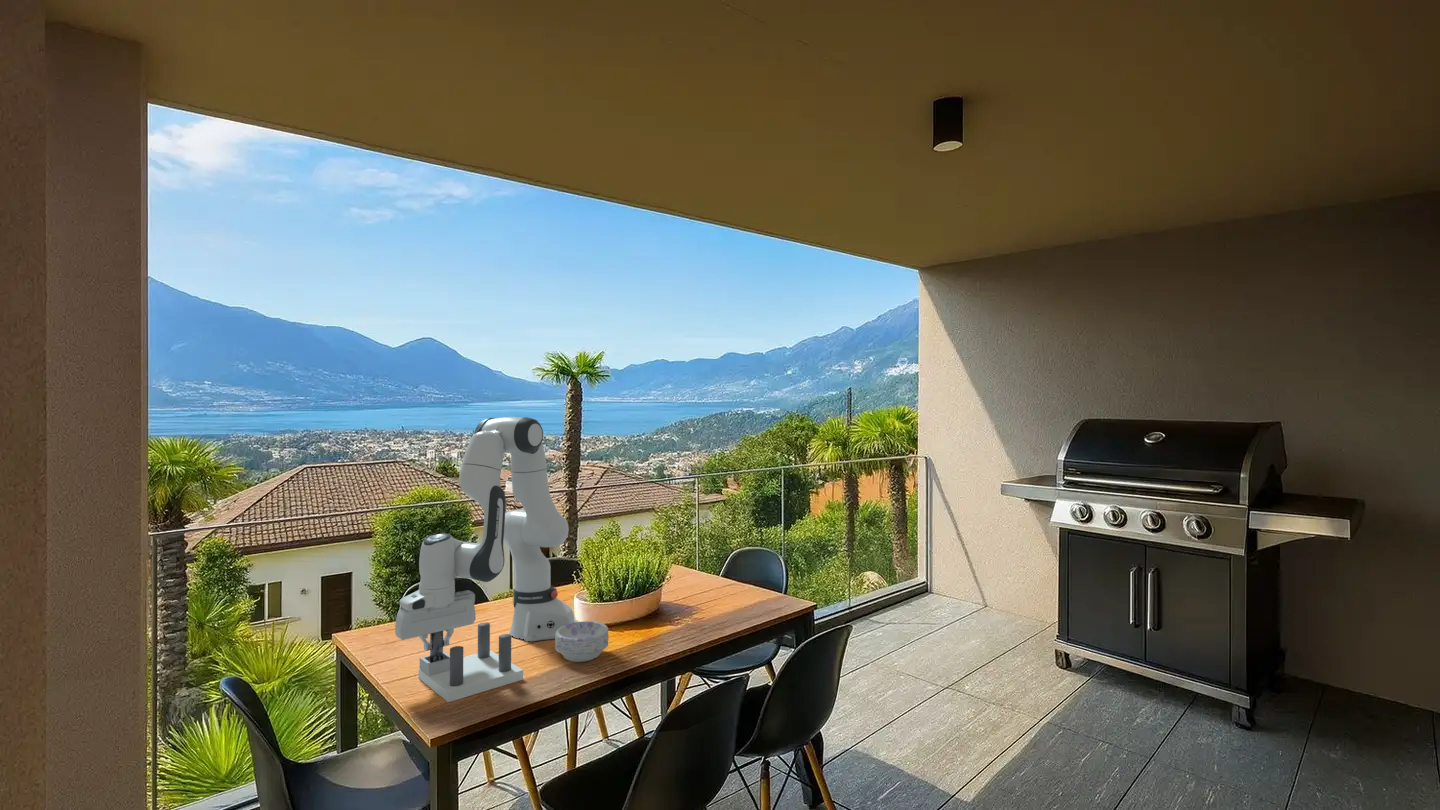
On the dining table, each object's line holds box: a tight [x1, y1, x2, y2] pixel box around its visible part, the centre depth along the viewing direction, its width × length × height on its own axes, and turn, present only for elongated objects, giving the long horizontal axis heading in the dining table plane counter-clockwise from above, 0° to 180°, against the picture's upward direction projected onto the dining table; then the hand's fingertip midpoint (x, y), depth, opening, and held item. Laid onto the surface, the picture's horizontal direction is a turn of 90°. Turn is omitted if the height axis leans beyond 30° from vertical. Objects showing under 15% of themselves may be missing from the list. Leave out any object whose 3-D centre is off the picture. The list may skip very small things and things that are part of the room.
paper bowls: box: [554, 620, 609, 663], centre depth 193 cm, size 15×15×8 cm
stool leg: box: [429, 631, 444, 663], centre depth 177 cm, size 3×3×9 cm
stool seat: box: [418, 622, 524, 703], centre depth 177 cm, size 20×20×12 cm
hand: (436, 647), depth 177 cm, fingers closed on stool leg, 3 cm apart
